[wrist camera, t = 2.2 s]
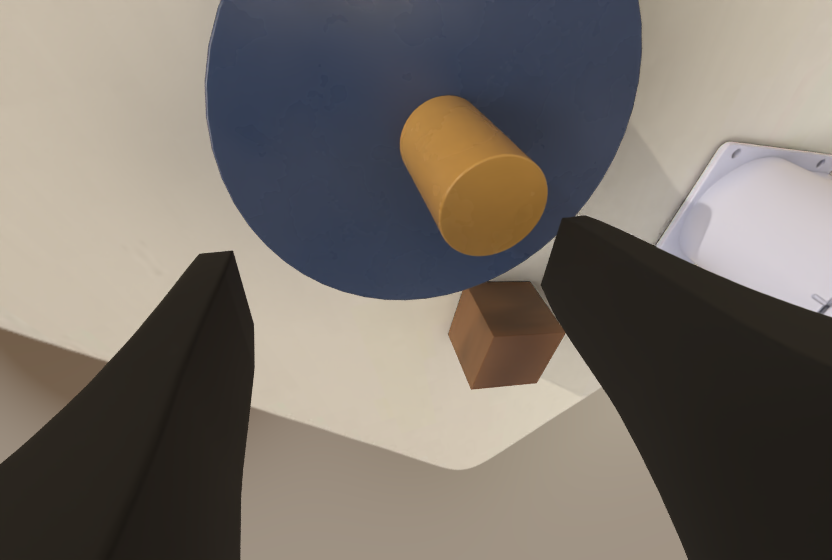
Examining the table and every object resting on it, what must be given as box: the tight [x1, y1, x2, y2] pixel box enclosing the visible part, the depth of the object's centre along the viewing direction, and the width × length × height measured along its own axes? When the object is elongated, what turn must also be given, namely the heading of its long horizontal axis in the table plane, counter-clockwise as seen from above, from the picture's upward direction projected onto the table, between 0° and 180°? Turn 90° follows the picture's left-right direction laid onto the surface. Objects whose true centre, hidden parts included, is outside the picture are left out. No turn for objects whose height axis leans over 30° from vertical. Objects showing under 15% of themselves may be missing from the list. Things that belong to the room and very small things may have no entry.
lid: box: [205, 0, 642, 300], centre depth 11 cm, size 13×13×5 cm
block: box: [448, 282, 565, 389], centre depth 25 cm, size 4×4×4 cm
